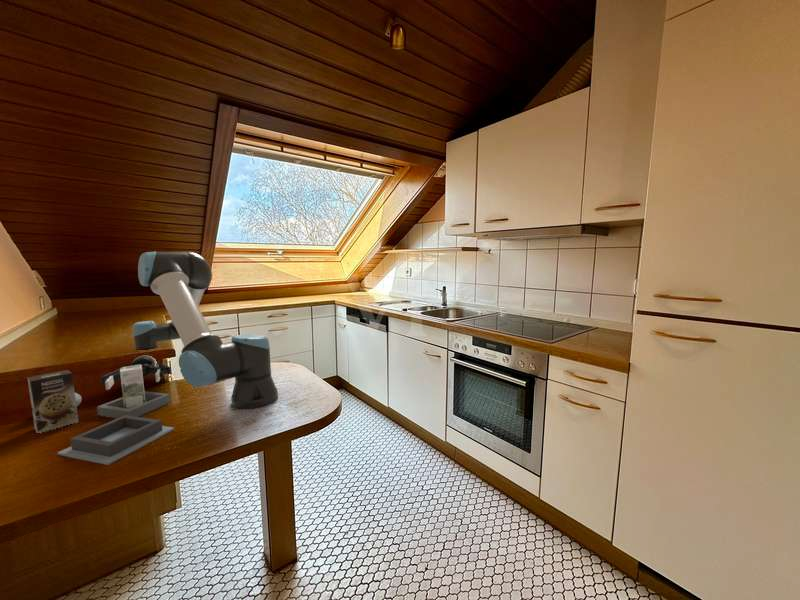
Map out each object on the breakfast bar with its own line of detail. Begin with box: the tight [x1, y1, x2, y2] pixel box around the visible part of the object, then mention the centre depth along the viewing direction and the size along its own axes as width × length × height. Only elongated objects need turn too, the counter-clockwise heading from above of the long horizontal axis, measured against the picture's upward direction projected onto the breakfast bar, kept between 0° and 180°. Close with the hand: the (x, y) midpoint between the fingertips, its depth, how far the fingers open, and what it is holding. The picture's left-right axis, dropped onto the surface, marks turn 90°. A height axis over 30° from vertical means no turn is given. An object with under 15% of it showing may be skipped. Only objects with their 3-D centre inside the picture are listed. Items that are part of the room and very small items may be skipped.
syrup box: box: [120, 364, 147, 409], centre depth 116 cm, size 6×6×14 cm
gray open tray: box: [96, 390, 172, 419], centre depth 117 cm, size 14×14×3 cm
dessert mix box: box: [27, 369, 80, 434], centre depth 105 cm, size 9×6×16 cm
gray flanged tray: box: [57, 415, 175, 466], centre depth 96 cm, size 18×18×4 cm
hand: (132, 381), depth 117 cm, fingers open, 13 cm apart
